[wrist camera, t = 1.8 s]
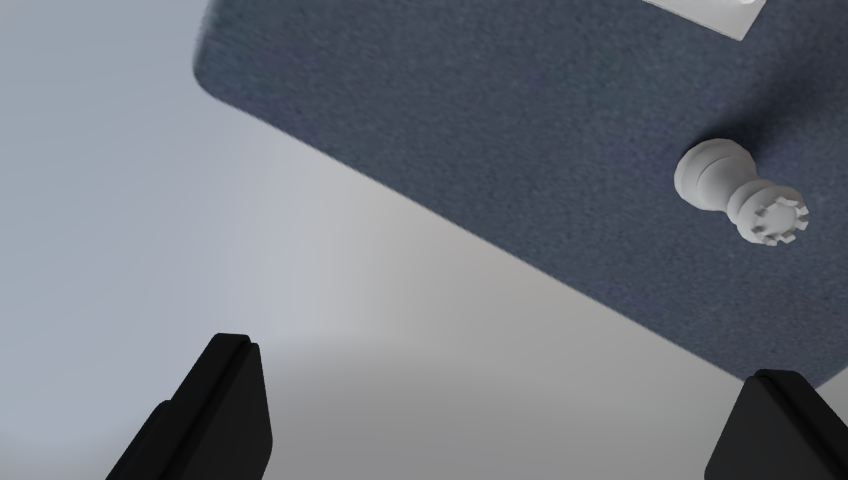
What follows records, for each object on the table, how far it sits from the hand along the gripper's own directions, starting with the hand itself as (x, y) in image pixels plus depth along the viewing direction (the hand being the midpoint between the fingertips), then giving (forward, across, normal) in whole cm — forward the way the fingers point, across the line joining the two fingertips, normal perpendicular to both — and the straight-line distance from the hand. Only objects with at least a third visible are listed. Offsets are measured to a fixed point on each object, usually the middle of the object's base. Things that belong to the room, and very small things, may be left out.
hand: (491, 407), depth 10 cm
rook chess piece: (+24, -16, +3) cm, 29 cm away
